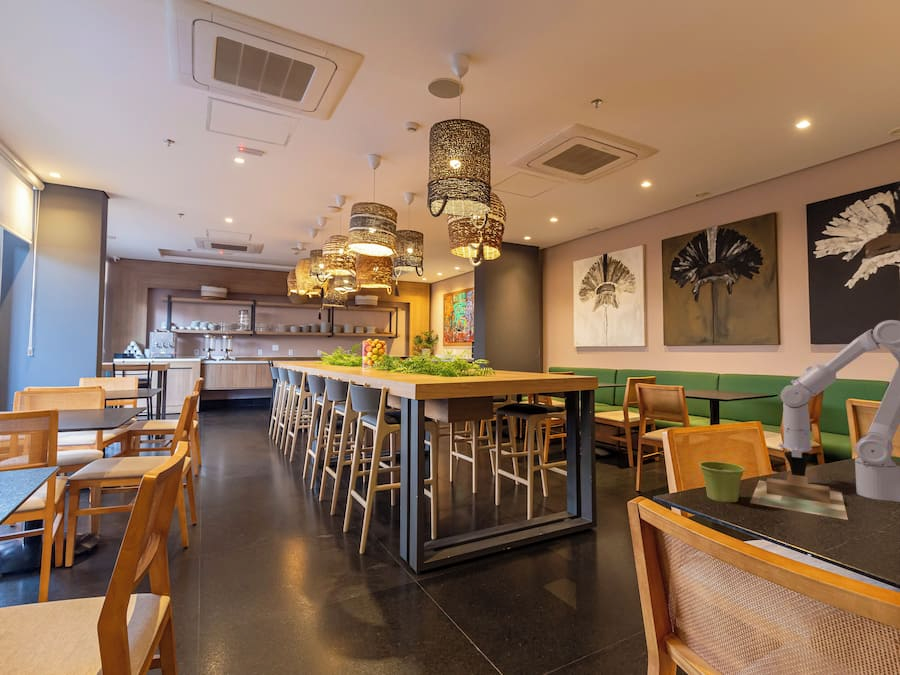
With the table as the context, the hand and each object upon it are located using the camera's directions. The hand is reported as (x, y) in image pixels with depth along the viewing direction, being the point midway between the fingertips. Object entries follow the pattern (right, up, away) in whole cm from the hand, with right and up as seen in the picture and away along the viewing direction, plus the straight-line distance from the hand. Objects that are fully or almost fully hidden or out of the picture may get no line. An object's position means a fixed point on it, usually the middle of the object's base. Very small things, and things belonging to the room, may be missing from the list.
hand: (798, 479), depth 118 cm
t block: (-8, 0, -9) cm, 12 cm away
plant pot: (-29, -2, -13) cm, 31 cm away
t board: (-10, -1, -12) cm, 16 cm away
